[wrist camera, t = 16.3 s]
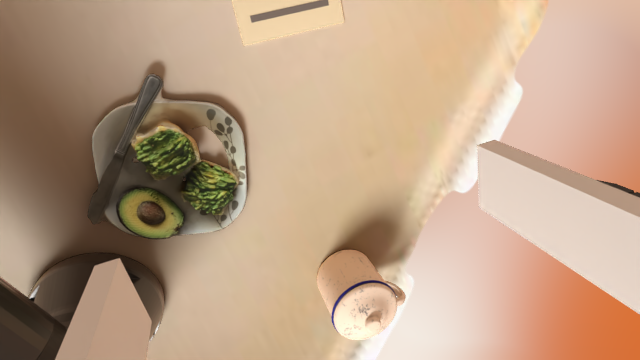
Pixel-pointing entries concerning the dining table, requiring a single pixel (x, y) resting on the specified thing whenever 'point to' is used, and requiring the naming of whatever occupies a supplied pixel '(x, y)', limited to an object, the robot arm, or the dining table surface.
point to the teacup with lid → (357, 295)
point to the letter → (283, 17)
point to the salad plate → (166, 167)
